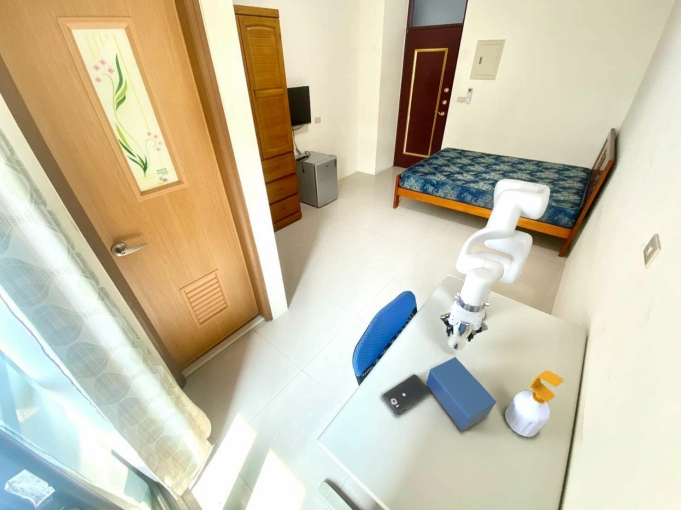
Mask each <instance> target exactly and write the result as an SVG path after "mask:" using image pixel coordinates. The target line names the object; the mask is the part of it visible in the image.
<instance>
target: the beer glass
mask: <svg viewBox="0 0 681 510" xmlns="http://www.w3.org/2000/svg"><path fill="white" fill-rule="evenodd" d="M472 328H473V324H465V323H463V322H461V321H458V323H457V324H456V325H455V326H454V325H453V327H452V331H451V334H450V336H449V337H448V339H447V344H448V346H449V347H450V348H451V349H452V350H454V351H462V350H464V349H465V347H466V341H468V337H469V336H470V334H471V333H472V331H473V330H472Z"/></svg>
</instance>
